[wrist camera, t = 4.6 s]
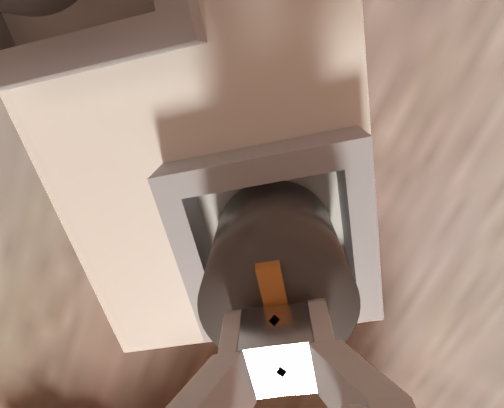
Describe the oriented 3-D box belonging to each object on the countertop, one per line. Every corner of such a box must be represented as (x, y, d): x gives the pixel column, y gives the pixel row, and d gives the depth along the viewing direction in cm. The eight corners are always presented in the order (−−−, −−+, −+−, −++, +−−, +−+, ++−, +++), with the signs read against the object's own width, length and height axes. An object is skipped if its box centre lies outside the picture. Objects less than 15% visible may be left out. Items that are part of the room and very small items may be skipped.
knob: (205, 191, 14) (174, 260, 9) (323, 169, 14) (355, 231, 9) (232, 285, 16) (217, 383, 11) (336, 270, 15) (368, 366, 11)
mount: (-108, -226, 11) (-297, -370, 7) (317, -386, 9) (350, -674, 6) (137, 326, 20) (108, 385, 17) (371, 294, 19) (397, 352, 15)
